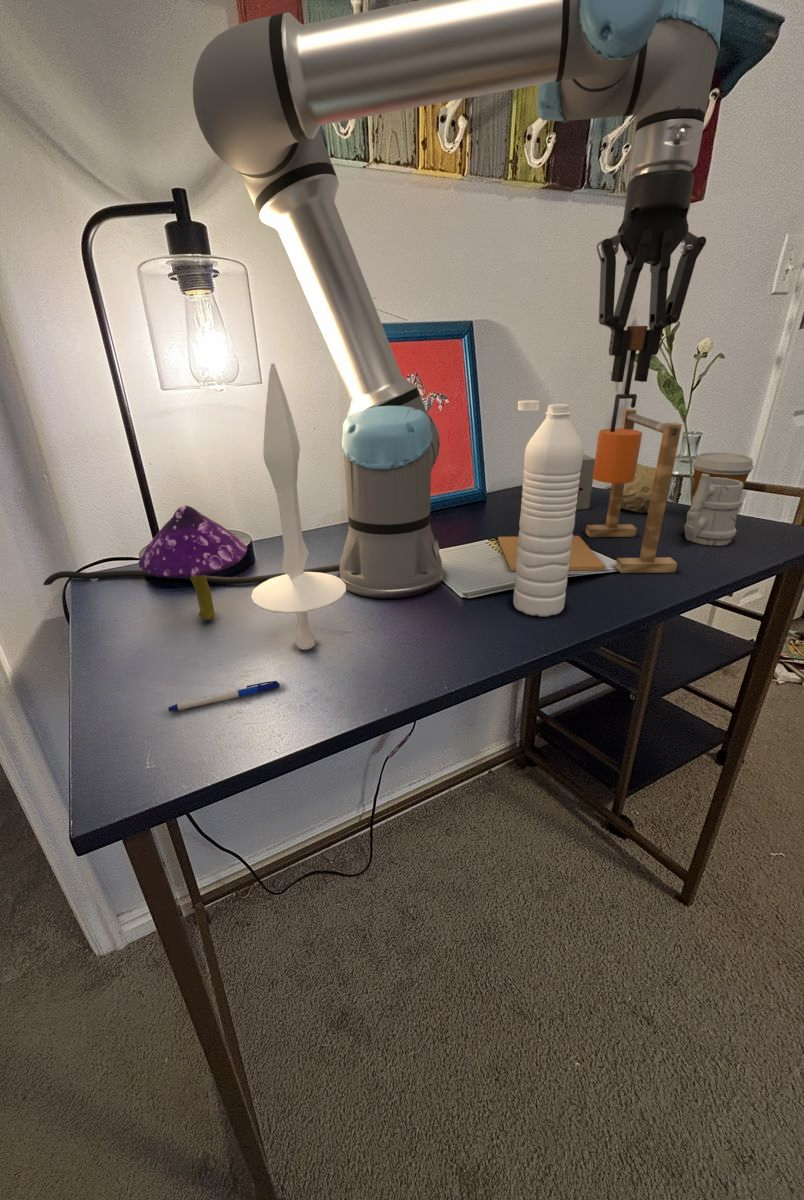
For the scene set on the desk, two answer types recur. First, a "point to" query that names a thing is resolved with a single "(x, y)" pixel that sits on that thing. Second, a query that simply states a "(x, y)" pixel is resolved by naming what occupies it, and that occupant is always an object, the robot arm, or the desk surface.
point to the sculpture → (290, 524)
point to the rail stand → (656, 507)
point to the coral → (639, 490)
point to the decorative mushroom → (192, 552)
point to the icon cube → (585, 483)
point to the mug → (714, 511)
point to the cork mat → (578, 560)
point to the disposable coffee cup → (721, 467)
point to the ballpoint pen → (227, 695)
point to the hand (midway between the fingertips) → (628, 380)
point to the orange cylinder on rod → (621, 444)
